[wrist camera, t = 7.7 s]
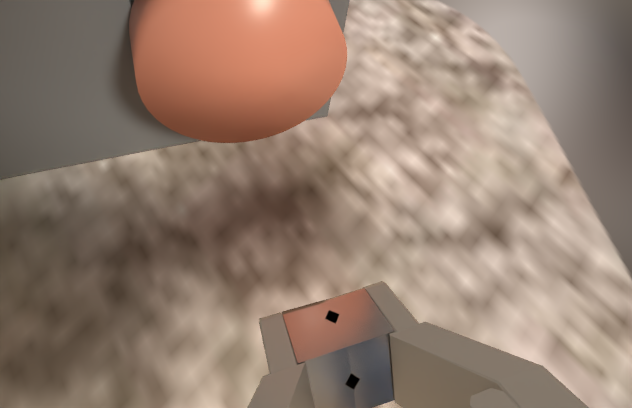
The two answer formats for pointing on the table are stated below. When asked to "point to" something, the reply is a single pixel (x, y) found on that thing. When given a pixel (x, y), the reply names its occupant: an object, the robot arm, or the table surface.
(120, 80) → the mount
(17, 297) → the table surface
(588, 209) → the table surface
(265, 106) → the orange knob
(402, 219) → the table surface
